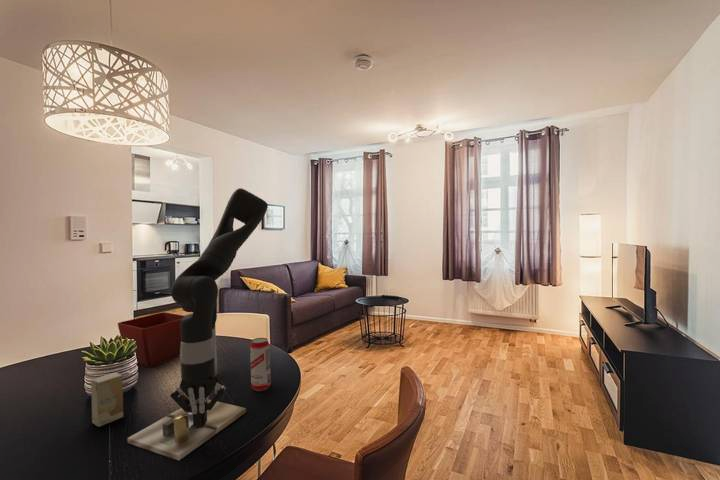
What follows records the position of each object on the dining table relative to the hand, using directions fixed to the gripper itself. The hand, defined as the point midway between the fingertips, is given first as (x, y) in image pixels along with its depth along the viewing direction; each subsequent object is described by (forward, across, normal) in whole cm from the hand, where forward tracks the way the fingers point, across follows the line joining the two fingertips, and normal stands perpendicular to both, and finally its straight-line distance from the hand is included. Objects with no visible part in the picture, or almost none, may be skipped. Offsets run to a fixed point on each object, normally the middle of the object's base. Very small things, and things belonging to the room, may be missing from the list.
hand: (200, 426), depth 84 cm
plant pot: (+4, -37, +62) cm, 72 cm away
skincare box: (+4, -30, +16) cm, 34 cm away
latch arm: (+2, -4, +3) cm, 6 cm away
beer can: (+4, +10, +28) cm, 30 cm away
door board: (+4, -5, +8) cm, 11 cm away
